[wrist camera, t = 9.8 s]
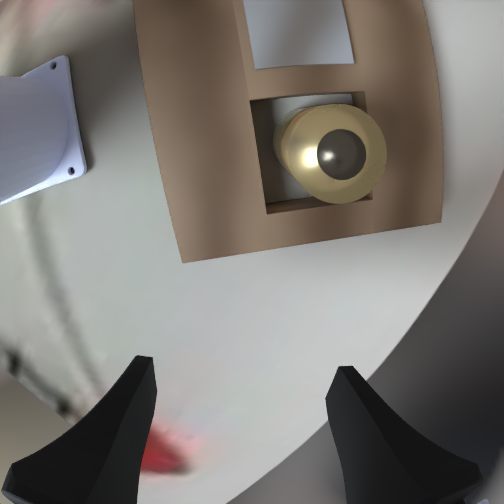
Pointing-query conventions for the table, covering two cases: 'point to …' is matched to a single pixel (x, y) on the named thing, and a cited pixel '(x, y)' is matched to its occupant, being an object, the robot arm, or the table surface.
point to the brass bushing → (331, 151)
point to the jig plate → (282, 86)
